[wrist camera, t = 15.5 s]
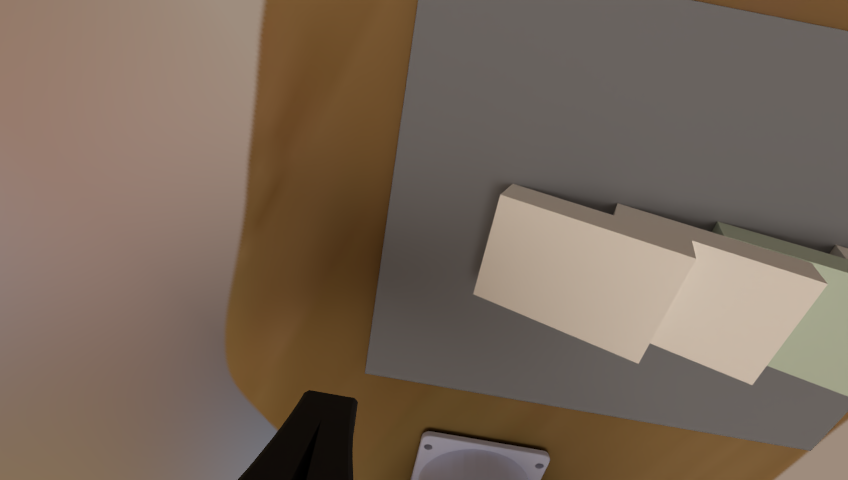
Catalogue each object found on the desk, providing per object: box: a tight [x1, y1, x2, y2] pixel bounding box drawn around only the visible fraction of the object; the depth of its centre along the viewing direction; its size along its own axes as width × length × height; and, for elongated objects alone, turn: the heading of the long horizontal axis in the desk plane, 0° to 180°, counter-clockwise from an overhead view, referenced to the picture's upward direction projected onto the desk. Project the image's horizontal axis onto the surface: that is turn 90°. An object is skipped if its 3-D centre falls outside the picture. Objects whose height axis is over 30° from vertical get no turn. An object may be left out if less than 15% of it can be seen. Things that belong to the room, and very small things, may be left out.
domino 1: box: [473, 184, 696, 364], centre depth 17 cm, size 2×5×7 cm
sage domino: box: [712, 221, 848, 396], centre depth 17 cm, size 2×5×7 cm
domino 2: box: [613, 203, 828, 385], centre depth 17 cm, size 2×5×7 cm
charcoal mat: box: [365, 0, 848, 451], centre depth 19 cm, size 20×26×1 cm
